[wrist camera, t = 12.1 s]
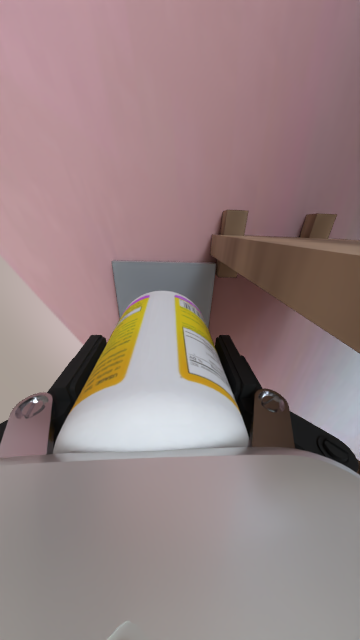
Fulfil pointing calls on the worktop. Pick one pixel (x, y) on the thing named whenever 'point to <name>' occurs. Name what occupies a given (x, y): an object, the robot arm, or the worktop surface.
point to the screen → (298, 270)
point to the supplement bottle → (155, 386)
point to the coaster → (165, 281)
